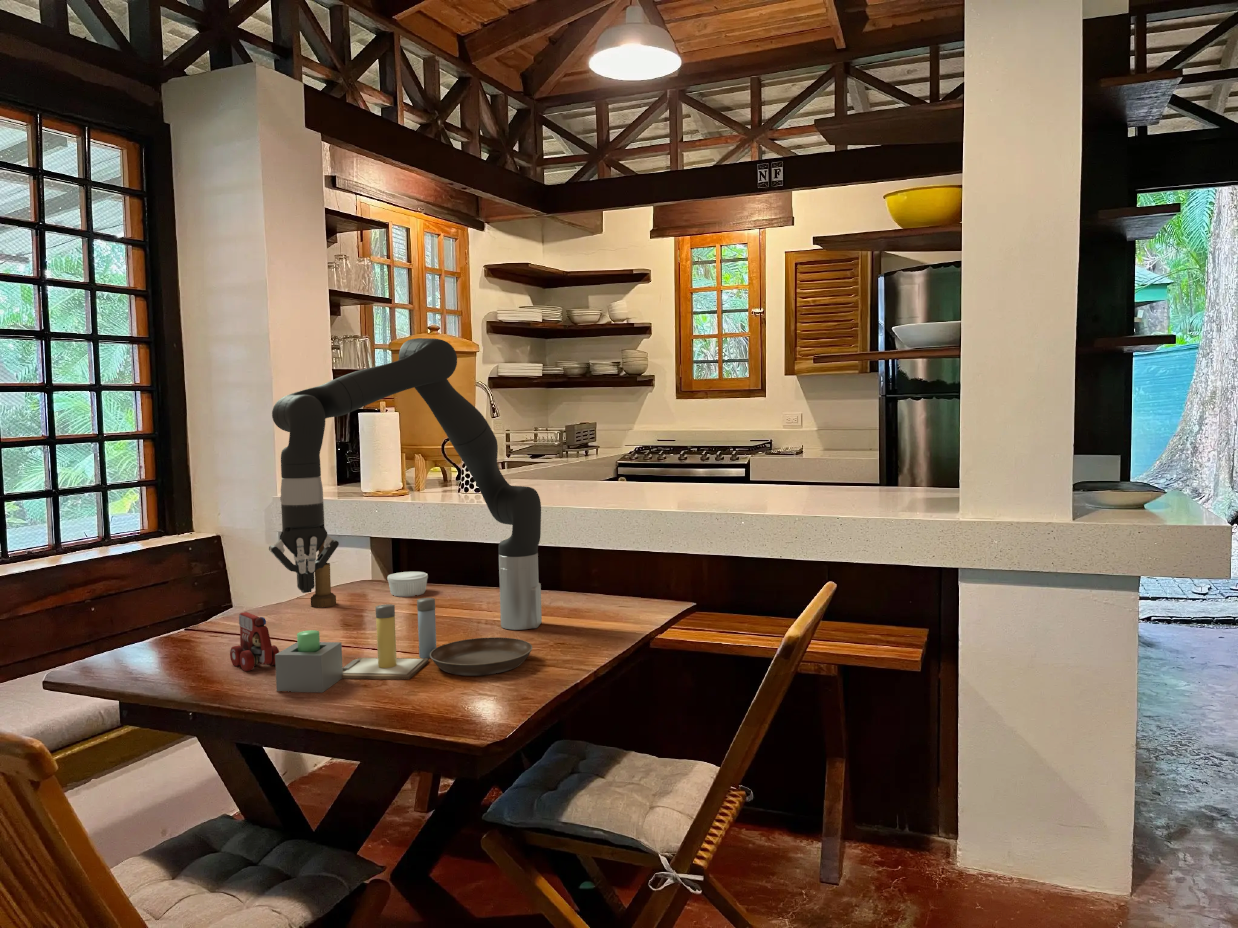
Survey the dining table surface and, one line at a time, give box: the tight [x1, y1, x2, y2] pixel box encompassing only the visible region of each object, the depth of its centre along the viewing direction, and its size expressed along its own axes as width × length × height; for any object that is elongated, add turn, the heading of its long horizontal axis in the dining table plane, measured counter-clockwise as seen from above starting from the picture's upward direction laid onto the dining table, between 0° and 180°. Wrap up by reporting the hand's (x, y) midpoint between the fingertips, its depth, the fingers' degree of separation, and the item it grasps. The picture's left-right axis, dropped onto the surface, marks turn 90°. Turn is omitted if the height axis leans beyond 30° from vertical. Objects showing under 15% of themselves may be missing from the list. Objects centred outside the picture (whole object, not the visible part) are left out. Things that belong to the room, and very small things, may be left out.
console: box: [274, 641, 344, 693], centre depth 173 cm, size 9×9×7 cm
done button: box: [296, 629, 321, 652], centre depth 172 cm, size 4×4×4 cm
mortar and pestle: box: [310, 541, 337, 608], centre depth 241 cm, size 7×6×18 cm
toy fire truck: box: [229, 611, 280, 672], centre depth 186 cm, size 7×12×10 cm, turn 44°
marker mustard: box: [375, 603, 397, 668], centre depth 181 cm, size 4×4×12 cm
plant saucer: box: [430, 636, 533, 677], centre depth 184 cm, size 21×21×3 cm
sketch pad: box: [342, 657, 430, 680], centre depth 182 cm, size 15×12×1 cm
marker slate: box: [416, 597, 437, 659], centre depth 190 cm, size 4×4×12 cm
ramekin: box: [386, 571, 429, 598], centre depth 254 cm, size 11×11×5 cm
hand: (306, 591), depth 172 cm, fingers closed
